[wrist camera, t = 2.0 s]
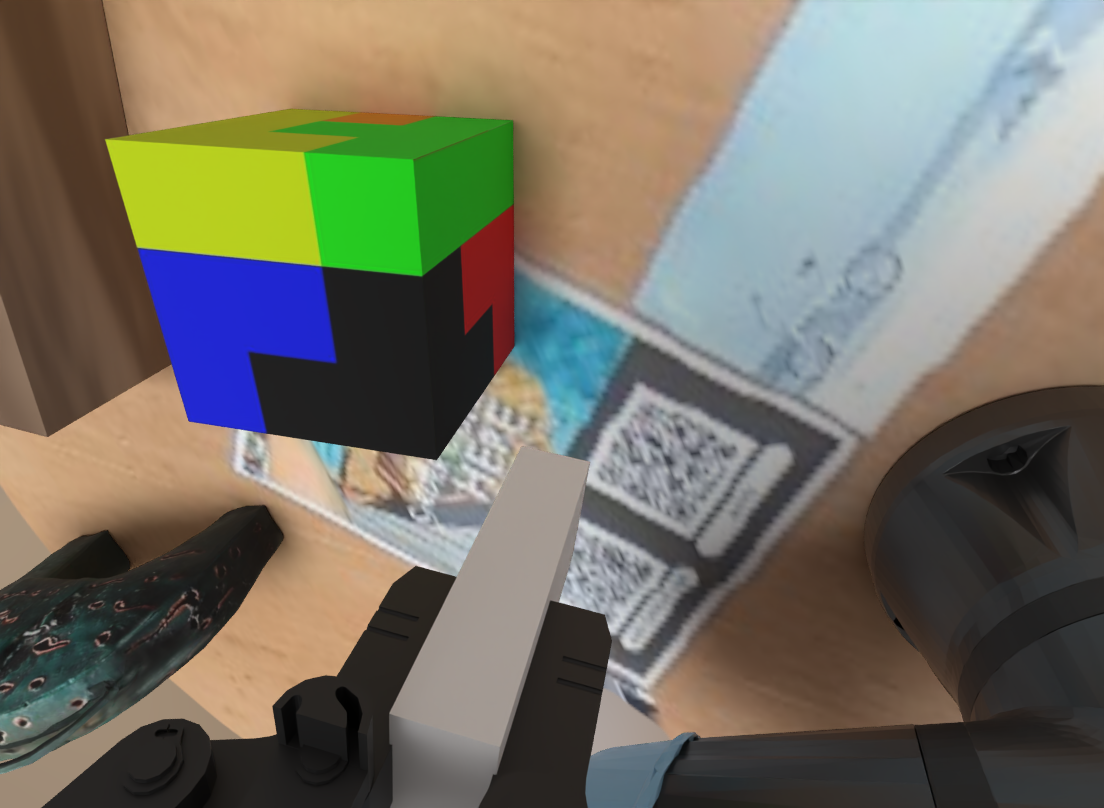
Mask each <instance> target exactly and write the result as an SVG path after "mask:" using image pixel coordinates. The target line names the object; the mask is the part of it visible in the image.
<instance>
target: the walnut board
mask: <svg viewBox="0 0 1104 808" xmlns="http://www.w3.org/2000/svg"><path fill="white" fill-rule="evenodd" d="M122 136H128V132H127V127H126V122H125V117H124V112H123V107H122V102H121V97H120V92H119V87H118V82H117V77H116V72H115V67H114V61H113V56H112V51H111V46H110V41H109V36H108V31H107V26H106V21H105V16H104V11H103V6H102V1H101V0H0V425H3V426H7V427H11V428H15V429H19V430H22V431H26V432H30V433H34V434H38V435H42V436H45V437H49V436H50V435H52V434H54V433H55V432H57V431H59V430H60V429H62V428H64V427H65V426H67V425H69V424H71V423H72V422H74V421H76V420H77V419H79V418H81V417H82V416H84V415H86V414H88V413H89V412H91V411H93V410H94V409H96V408H98V407H99V406H101V405H103V404H105V403H106V402H108V401H110V400H111V399H113V398H115V397H116V396H118V395H120V394H122V393H123V392H125V391H127V390H128V389H130V388H132V387H133V386H135V385H137V384H139V383H140V382H142V381H144V380H145V379H147V378H149V377H150V376H152V375H154V374H156V373H157V372H159V371H161V370H162V369H164V368H166V367H167V366H169V365H171V360H170V357H169V353H168V350H167V347H166V343H165V340H164V337H163V333H162V330H161V326H160V323H159V320H158V316H157V313H156V310H155V306H154V303H153V299H152V296H151V293H150V289H149V286H148V283H147V279H146V276H145V272H144V269H143V266H142V262H141V259H140V256H139V252H138V249H137V245H136V242H135V239H134V235H133V232H132V228H131V225H130V222H129V218H128V215H127V212H126V208H125V205H124V201H123V198H122V195H121V191H120V188H119V185H118V181H117V178H116V174H115V171H114V168H113V164H112V161H111V158H110V154H109V151H108V147H107V144H106V141H105V139H110V138H116V137H122Z"/></svg>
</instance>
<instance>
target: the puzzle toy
mask: <svg viewBox="0 0 1104 808" xmlns="http://www.w3.org/2000/svg"><path fill="white" fill-rule="evenodd" d="M105 141H106V144H107V147H108V151H109V154H110V158H111V161H112V164H113V168H114V171H115V174H116V178H117V181H118V185H119V188H120V191H121V195H122V198H123V201H124V205H125V208H126V212H127V215H128V218H129V222H130V225H131V228H132V232H133V235H134V239H135V242H136V245H137V249H138V252H139V256H140V259H141V262H142V266H143V269H144V272H145V276H146V279H147V283H148V286H149V289H150V293H151V296H152V299H153V303H154V306H155V310H156V313H157V316H158V320H159V323H160V326H161V330H162V333H163V337H164V340H165V343H166V347H167V350H168V353H169V357H170V360H171V364H172V367H173V370H174V374H175V377H176V380H177V384H178V387H179V391H180V394H181V397H182V401H183V404H184V407H185V411H186V414H187V418H188V421H189V422H196V423H202V424H209V425H215V426H221V427H228V428H234V429H241V430H247V431H253V432H260V433H266V434H273V435H279V436H286V437H292V438H298V439H305V440H311V441H318V442H324V443H330V444H337V445H343V446H350V447H356V448H363V449H369V450H375V451H382V452H388V453H395V454H401V455H407V456H414V457H420V458H427V459H433V460H437V459H438V458H439V456H440V455H441V453H442V452H443V450H444V449H445V447H446V446H447V444H448V443H449V441H450V440H451V439H452V437H453V436H454V434H455V433H456V431H457V430H458V428H459V427H460V425H461V424H462V422H463V421H464V419H465V418H466V417H467V415H468V414H469V412H470V411H471V409H472V408H473V406H474V405H475V403H476V402H477V400H478V399H479V397H480V396H481V395H482V393H483V392H484V390H485V389H486V387H487V386H488V384H489V383H490V381H491V380H492V378H493V377H494V376H495V374H496V373H497V371H498V370H499V368H500V367H501V365H502V364H503V362H504V361H505V359H506V358H507V356H508V355H509V354H510V352H511V351H512V349H513V348H514V188H513V120H496V119H476V118H457V117H438V116H419V115H399V114H380V113H361V112H342V111H322V110H303V109H287V110H280V111H274V112H268V113H262V114H256V115H250V116H244V117H238V118H232V119H226V120H220V121H214V122H208V123H201V124H195V125H189V126H183V127H177V128H171V129H165V130H159V131H153V132H147V133H141V134H135V135H129V136H122V137H116V138H110V139H105Z"/></svg>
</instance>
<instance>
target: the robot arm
mask: <svg viewBox="0 0 1104 808" xmlns="http://www.w3.org/2000/svg"><path fill="white" fill-rule="evenodd" d="M589 465H590V462H588V461H584V460H579V459H575V458H571V457H567V456H562V455H558V454H554V453H550V452H545V451H541V450H537V449H533V448H529V447H524V446H522V447H521V449H520V451H519V453H518V455H517V457H516V459H515V461H514V463H513V465H512V467H511V469H510V471H509V473H508V475H507V477H506V479H505V481H504V483H503V485H502V487H501V489H500V491H499V493H498V495H497V497H496V499H495V501H494V503H493V505H492V507H491V509H490V511H489V513H488V515H487V517H486V519H485V521H484V523H483V525H482V527H481V529H480V531H479V533H478V535H477V537H476V539H475V541H474V543H473V545H472V547H471V549H470V551H469V554H468V556H467V558H466V560H465V562H464V564H463V566H462V568H461V570H460V572H459V574H458V576H457V577H455V576H452V575H448V574H444V573H440V572H437V571H433V570H429V569H425V568H422V567H418V566H415V567H414V568H413V569H411V570H410V571H409V572H407V573H406V574H405V575H403V576H402V577H401V578H399V579H398V580H397V581H396V582H394V583H393V584H392V586H391V588H390V589H389V591H388V593H387V594H386V596H385V598H384V599H383V601H382V603H381V604H380V606H379V610H378V611H376V613H375V614H374V616H373V617H372V619H371V621H370V622H369V624H368V627H367V630H365V631H364V632H363V634H362V636H361V637H360V639H359V641H358V642H357V644H356V646H355V647H354V649H353V650H352V652H351V654H350V655H349V657H348V659H347V660H346V662H345V664H344V665H343V667H342V669H341V670H340V672H339V674H338V675H337V677H336V676H326V675H325V676H321V677H316V678H312V679H308V680H305V681H303V682H301V683H299V684H298V685H296V686H294V687H292V688H291V689H289V690H287V691H286V692H285V693H284V694H283V695H282V696H281V697H280V699H279V700H278V701H277V702H276V703H275V704H274V705H273V713H274V719H275V725H276V732H277V734H276V735H273V736H269V737H262V738H254V739H230V740H210V738H209V736H208V735H207V734H206V732H205V731H204V730H203V729H202V728H201V726H200V725H199V724H196V723H193V722H191V721H188V720H185V719H164V720H160V721H157V722H154V723H151V724H148V725H145V726H143V727H140V728H139V729H137V730H136V731H134V732H133V733H132V734H130V735H128V736H127V737H126V738H124V739H122V740H121V741H120V742H118V743H117V744H116V745H115V746H114V747H112V748H111V749H110V750H109V751H108V752H106V753H105V754H104V755H103V756H102V757H101V758H99V759H98V760H97V761H96V762H95V763H94V764H92V765H91V766H90V767H89V768H88V769H86V770H85V771H84V772H83V773H82V774H81V775H79V776H78V777H77V778H76V779H75V780H74V781H72V782H71V783H70V784H69V785H68V786H67V787H65V788H64V789H63V790H62V791H61V792H59V793H58V794H57V795H56V796H55V797H53V799H51V800H50V801H49V802H48V803H46V804H45V805H44V806H43V807H42V808H1104V387H1096V386H1093V387H1067V388H1057V389H1049V390H1043V391H1037V392H1031V393H1027V394H1022V395H1018V396H1014V397H1010V398H1007V399H1004V400H1000V401H997V402H994V403H991V404H988V405H986V406H983V407H980V408H978V409H976V410H973V411H971V412H969V413H966V414H964V415H962V416H960V417H958V418H956V419H954V420H952V421H951V422H949V423H947V424H945V425H943V426H942V427H940V428H939V429H937V430H936V431H934V432H932V433H931V434H929V435H928V436H927V437H925V438H924V439H923V440H921V441H920V442H919V443H917V444H916V445H915V446H914V447H913V448H911V449H910V450H909V451H908V452H907V453H906V454H905V455H904V456H903V457H902V458H901V459H900V460H899V461H898V462H897V463H896V464H895V465H894V467H893V468H892V469H891V470H890V472H889V473H888V474H887V475H886V477H885V478H884V480H883V481H882V483H881V484H880V486H879V488H878V490H877V491H876V493H875V495H874V497H873V500H872V502H871V504H870V507H869V510H868V514H867V518H866V523H865V530H864V546H865V554H866V558H867V562H868V566H869V570H870V573H871V577H872V580H873V584H874V587H875V591H876V594H877V596H878V599H879V601H880V603H881V605H882V607H883V609H884V611H885V613H886V614H887V616H888V618H889V619H890V621H891V622H892V623H893V625H894V626H895V627H896V629H897V630H898V631H899V632H900V633H901V635H902V636H903V637H904V638H905V639H906V640H907V641H908V642H909V643H910V644H911V645H912V646H913V647H914V648H915V649H917V650H918V651H919V652H920V653H921V654H922V656H923V657H924V659H925V660H926V661H927V663H928V664H929V666H930V667H931V669H932V671H933V672H934V674H935V675H936V677H937V678H938V680H939V681H940V682H941V684H942V685H943V686H944V688H945V689H946V690H947V692H948V693H949V694H950V695H951V697H952V698H953V699H954V701H955V702H956V703H957V704H958V707H959V709H960V712H961V714H962V718H963V721H964V722H957V723H942V724H927V725H914V724H911V725H896V726H880V727H865V728H849V729H833V730H818V731H802V732H787V733H771V734H755V735H740V736H724V737H708V738H701V737H700V736H698V735H697V734H696V733H695V732H692V733H682V734H681V735H679V736H677V737H676V738H675V739H673V740H668V741H660V742H652V743H645V744H637V745H629V746H621V747H613V748H609V749H605V750H602V751H600V752H597V753H596V754H594V755H592V756H591V751H592V745H593V740H594V734H595V729H596V724H597V718H598V713H599V708H600V702H601V695H602V691H603V686H604V681H605V675H606V670H607V665H608V659H609V654H610V648H611V643H612V640H611V636H610V632H609V629H608V625H607V621H606V618H605V615H604V614H600V613H596V612H592V611H589V610H585V609H581V608H578V607H574V606H570V605H566V604H563V603H559V600H560V597H561V593H562V590H563V586H564V583H565V580H566V576H567V573H568V569H569V566H570V562H571V559H572V556H573V550H574V545H575V540H576V534H577V529H578V524H579V518H580V513H581V508H582V502H583V497H584V492H585V487H586V481H587V476H588V471H589Z"/></svg>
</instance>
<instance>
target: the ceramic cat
mask: <svg viewBox="0 0 1104 808" xmlns="http://www.w3.org/2000/svg"><path fill="white" fill-rule="evenodd" d="M282 541H283V535H282V533H281V531H280V529H279V528H278V527H277V525H276V524H275V523H274V521H273V520H272V519H271V518H270V515H269V513H268V511H267V509H266V508H265V506H245V507H241V508H237V509H235V510H233V511H230V512H227V513H226V514H224V515H223V516H222V517H220V518H219V519H218V520H217V521H216V522H215V523H213V524H212V525H211V526H209V527H208V528H207V529H205V530H204V531H202V532H201V533H199V534H198V535H196V536H194V537H192V538H191V539H189V540H188V541H186V542H185V543H183V544H181V545H180V546H178V547H177V548H175V549H173V550H171V551H170V552H168V553H166V554H164V555H162V556H160V557H158V558H156V559H154V560H152V561H150V562H148V563H146V564H144V565H142V566H139V567H137V568H135V569H132V570H130V571H128V570H129V569H130V564H129V560H128V558H127V556H126V555H125V553H124V551H123V550H122V549H121V548H120V546H119V545H118V544H117V543H116V542H115V540H114V539H113V538H112V537H111V536H110V535H109V533H108V531H103V532H100V533H97V534H95V535H92V536H81V537H78V538H77V539H75V540H73V541H71V542H69V543H67V544H66V545H65V546H64V547H62V548H61V549H59V550H58V551H56V552H54V553H53V554H51V555H50V556H49V557H47V558H46V559H45V560H44V561H43V562H41V563H40V564H39V565H37V566H36V567H35V568H33V569H32V570H31V571H30V572H28V573H27V574H26V575H24V576H23V577H21V578H20V579H18V580H17V581H15V582H13V583H11V584H10V585H8V586H6V587H5V588H3V589H1V590H0V761H3V760H7V759H13V760H11V761H7V762H4V763H1V764H0V774H2V773H6V772H9V771H12V770H15V769H18V768H20V767H23V766H26V765H29V764H31V763H34V762H35V761H37V760H38V759H40V758H41V757H43V756H44V755H46V754H48V753H49V752H51V751H53V750H56V749H57V748H59V747H61V746H63V745H65V744H67V743H68V742H70V741H73V740H75V739H77V738H79V737H82V736H84V735H86V734H88V733H90V732H92V731H93V730H95V729H97V728H98V727H100V726H102V725H104V724H105V723H107V722H109V721H110V720H112V719H113V718H115V717H116V716H118V715H119V714H120V713H122V712H123V711H125V710H127V709H128V708H129V707H131V706H133V705H134V704H136V703H137V702H138V701H140V700H141V699H142V698H144V697H145V696H147V695H148V694H149V693H150V692H152V691H153V690H154V689H155V688H157V687H158V686H159V685H160V684H161V683H163V682H164V681H165V680H166V679H168V678H169V677H170V676H172V675H173V674H174V673H175V672H177V671H178V670H179V669H180V668H182V667H183V666H184V665H185V664H186V663H188V662H189V661H190V660H191V659H192V658H193V657H194V656H196V655H197V654H198V653H199V652H200V651H201V650H202V649H204V648H205V647H206V645H207V644H208V643H209V642H210V641H211V640H212V639H213V637H214V636H215V635H216V634H217V633H218V632H219V631H220V630H221V629H222V628H223V626H224V625H225V624H226V623H227V622H228V621H229V619H230V618H231V617H232V616H233V615H234V614H235V613H236V611H237V610H238V609H239V607H240V605H241V604H242V602H243V601H244V599H245V597H246V596H247V594H248V592H249V591H250V589H251V588H252V586H253V585H254V583H255V581H256V579H257V578H258V576H259V574H260V573H261V571H262V569H263V568H264V566H265V565H266V563H267V562H268V561H269V559H270V558H271V556H272V555H273V554H274V552H275V551H276V550H277V548H278V547H279V545H280V544H281V542H282ZM14 758H15V759H14Z"/></svg>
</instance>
